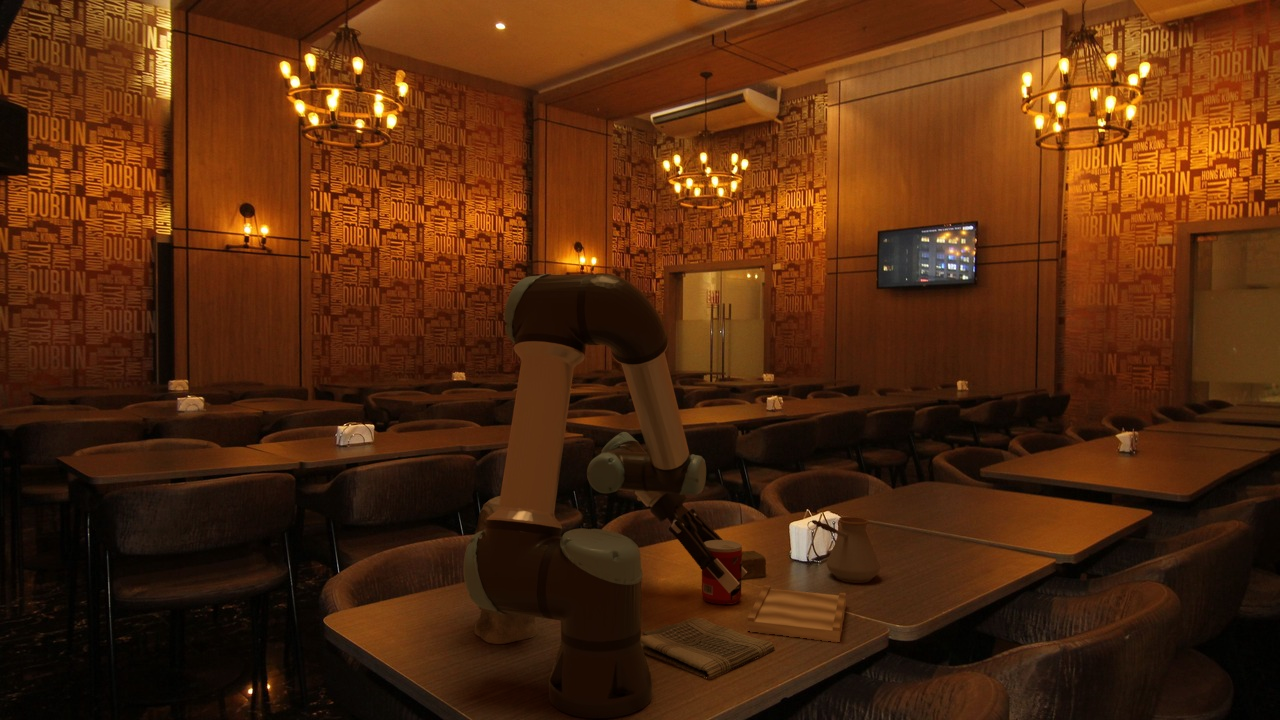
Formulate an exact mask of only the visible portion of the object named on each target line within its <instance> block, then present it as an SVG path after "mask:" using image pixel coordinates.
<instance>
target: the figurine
mask: <svg viewBox="0 0 1280 720" xmlns="http://www.w3.org/2000/svg"><path fill="white" fill-rule="evenodd" d="M500 496H501V495H499V496H495V497H493V498H490V499H489V500H488V501H487V502H485V503H483V506H482V508H481V510H480V512H479V515H478V521H477V524H476V525H477V526H476V529H475V531H474V534H476V533H478V532H480V531H482V530H485V528H486V521H487V518H488V517H489V516H490V515H491V514H493V513H494V512H495V511H497V509H498V508H499V502H500ZM477 607H478V609H479V610H481V611H480V615H479V618H478V619H477V620H476V621H475V625H474V634H475V635H476V636H477V637H479V638H480V639H481V640H483V641H484V642H485V643H487V644H488V643H489V644H493V645H494V644H495V645H500V644H501V645H504V644H509V643H513V642H520V641H523V640H526V639H531V638H534V637H535V636H538V635H539V627H538V625H537V624H536V623H535V622H536V621H535V620H536V617H532V616H525V615H517V614H510V613H509V614H501V613H498V612H497V611H492V610H487V609H483V608H481V607H479V606H478V605H477Z"/></svg>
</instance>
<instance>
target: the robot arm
mask: <svg viewBox="0 0 1280 720" xmlns="http://www.w3.org/2000/svg"><path fill="white" fill-rule="evenodd" d="M507 297H508V298H507V301H506V303H505V309H504V313H503V315H504V317H503V319H504V323H506V324H505V326H504V327H505V328H504V329H505V333H506V334H507V337H508V339H509V340H510V341H511V342H512V343H513V344H514V346H513V351H514V352H515V354H516V355H517V356H518V357H519V359H520V368H519V375H518V380H517V386H516V387H517V388H516V395H515V401H514V407H513V413H512V420H511V425H510V426H511V427H510V432H509V438H508V443H507V444H508V445H507V452H506V458H505V465H504V472H503V479H502V484H501V489H500V495H499V496H500V502H499V508H498V509H497V511H495V512H494V513H493V514H491V515H490V516H489V517H488V518H487V521H486V528H485V530H482V531H480V532H478V533H474V535H472V537H471V538H470V542H469V543H468V544H467V547H466V549H465V553H464V557H463V579H464V584H465V589H466V592H468V594H469V597H470V599H471V600H472V601H473V603H474V604H475V605H476V606H477V607H478V606H479V607H481V608H483V609H487V610H492V611H497V612H498V613H501V614H509V613H510V614H517V615H525V616H532V617H535V618H540V619H548V620H556V621H560V646H559V649H558V651H557V653H556V654H557V655H556V657H555V661H554V664H553V667H552V669H551V672H550V676H549V680H548V700H549V702H550V704H551V705H552V706H553V707H554V708H555V709H557V710H558V711H560V712H562V713H565V714H567V715H570V716H574V717H579V718H585V719H586V718H587V719H612V718H619V717H624V716H628V715H630V714H634V713H636V712H639V711H640V710H642V709H644V708H645V707H646V706H648V704H649V703H650V702H651V700H652V698H653V677H652V673H651V671H650V667H649V664H648V661H647V657H646V655H645V654H646V653H644V651H643V648H642V645H641V637H642V631H641V630H642V628H641V627H642V580H643V570H642V562H641V559H642V557H641V551H640V548H639V546H638V544H636V542H634V541H633V540H632V538H630V537H628V536H626V535H623V534H621V533H618V532H615V531H611V530H607V529H600V528H591V529H590V528H589V529H588V528H586V527H585V528H582V527H581V528H574V529H569V530H567V531H566V532H564V533H563V534H562V529H563V527H562V524H560V522H559V520H558V519H557V518H556V516H555V510H556V509H555V508H556V501H557V495H558V486H559V480H560V479H559V478H560V472H561V465H562V457H563V450H564V445H565V443H564V441H565V437H566V435H565V434H566V428H567V421H568V413H569V408H570V407H569V405H570V399H571V391H572V385H573V384H572V383H573V377H574V371H575V370H574V369H575V368H576V366H578V365H579V364H581V363H582V362H584V360H585V359H586V358H585V356H586V350H587V346H605V347H607V348H609V349H610V353H611V355H612V357H613V360H615V362H617V363H619V364H621V367H622V371H623V374H624V378H625V380H626V384H627V387H628V391H629V394H630V397H631V400H632V404H633V407H634V410H635V414H636V418H637V421H638V423H639V428H640V431H641V434H642V437H643V440H644V443H645V444H644V445H645V447H646V450H647V451H646V450H645V449H644V448H643V446H641V444H640V443H639V441H638V440H636V438H634V437H633V436H632V435H631V434H630V433H629V432H627V431H622V432H620V433H619V434H616V435H615V436H613V438H611V439H610V440H609V441H608V442H607V443H606V444H605V445H604V447H603V448H602V449H601V451H600V452H601V453H599V454H598V455H597V456H595V457H594V458H593V459H592V460H591V461H590V462H589V464H588V466H587V470H586V476H587V477H586V478H587V481H588V483H589V485H590V487H591V488H592V489H594V490H595V491H596V492H598V493H601V494H611V493H615V492H617V491H626V492H627V491H629V492H630V491H631V492H632V493H634V494H635V496H636V499H637V501H639V502H642V503H643V505H645V506H646V507H650V508H649V510H650V513H652V515H653V516H654V517H655V518H656V520H657V521H658V522H659V523H663V522H665V521H666V520H667V519H668V521H669V523H670V524H671V525H670V526H669V527H668V531H669V532H670V533H671V534H672V535H674V537H675V538H676V539H677V540H678V541H679V543H680V544H681V545H682V546H683V548H684V549H685V550H686V552H688V554H689V555H690V557H692V558H691V559H693V561H694V562H695V563H696V564H697V566H699V568H700V570H701V571H702V570H704V569H705V568H706V567H707V569H708V570H709V571H710V572H711V573H712V575H713V576H714V577H715V578H716V579H717V580H718V581H719V582H720V584H721V585H722V586H723V587H724V588H725V589H726V590H727V591H728V593H730V592H731V591H732V590H734V589H735V588H736V587H737V586H738V585H739V584H740V583H739V582H738V581H737V580H736V579H735V578H734V577H733V575H732V574H731V573H730V572H729V571H728V570H727V569H726V568H725V566H724V565H723V564H722V563H721V562H720V561H719V560H718V559H717V558H716V559H715V558H714V557H713V555H712V554H711V552H710V551H709V550H708V548H707V547H706V545H705V544H704V542H706V541H710V540H724V539H723V538H722V537H720V535H719V534H718V533H717V532H716V531H715V530H714V529H713V528H712V527H711V526H710V525H709V524H708V523H707V522H706V521H705V520H704V519H703V518H702V517H701V516H700V515H699V513H698V512H697V511H696V510H695V509H694V508H691V509H690V510H689V509H687V508H686V507H685V506H684V503H685V502H686V501H687V499H688V497H687V496H686V495H692V496H693V495H695V496H696V495H699V494H701V493H702V492H703V490H704V488H705V485H706V481H707V478H706V477H707V464H706V460H705V458H703V456H702V455H697V454H694V453H693V454H690V451H689V446H688V441H687V437H686V433H685V429H684V427H683V422H682V418H681V414H680V409H679V406H678V401H677V397H676V394H675V389H674V384H673V381H672V377H671V373H670V370H669V365H668V360H667V356H666V353H665V352H666V351H667V348H668V347H669V338H668V335H667V331H666V328H665V325H664V322H663V320H662V318H661V316H660V314H659V312H658V310H657V309H656V308H655V306H654V305H653V302H651V301H650V299H649V298H647V296H646V294H644V293H643V291H641V290H640V289H639V288H638V287H636V286H635V285H634V284H633V283H632V282H630V281H629V280H627V279H625V278H623V277H620V276H619V275H615V274H611V273H606V272H604V273H603V272H598V273H583V274H580V273H579V274H574V273H573V274H572V273H571V274H551V273H545V274H544V273H543V274H540V275H534V276H533V275H532V276H531V275H530V276H526V277H524V278H522V279H521V280H519V281H518V282H517V283H515V284H514V286H513V287H512V289H511V291H510V293H509V295H508V296H507ZM746 573H747V571H746V570H745V569H744V568H743V567H742V577H743V576H744V575H745V574H746ZM742 577H741V578H742ZM479 607H478V608H479Z"/></svg>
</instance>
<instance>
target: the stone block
mask: <svg viewBox="0 0 1280 720" xmlns="http://www.w3.org/2000/svg"><path fill="white" fill-rule="evenodd" d="M766 566H767V560H766V557H765V556H764V555H762V553H760V552H757V551H756V550H749V551H747V550H746V551H745V550H744V551H742V567H743V568H744V569H745V570H746V571H747V573H746V574H745V575H744V576H743V577H742V578H741V580H749V579H759V578H760V579H761V578H765V577H766V576H767V570H766V569H767V567H766Z"/></svg>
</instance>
